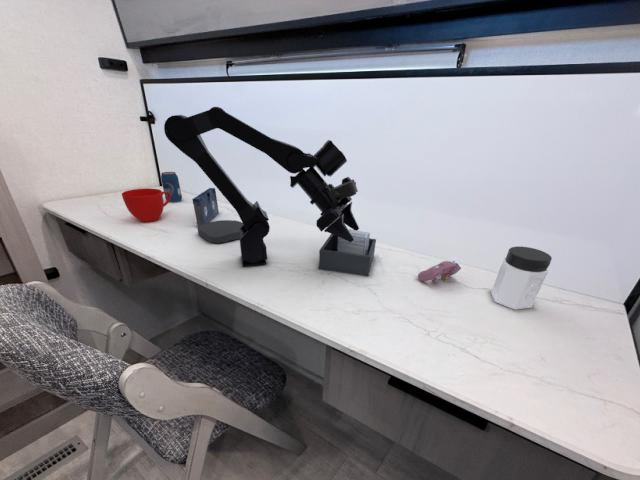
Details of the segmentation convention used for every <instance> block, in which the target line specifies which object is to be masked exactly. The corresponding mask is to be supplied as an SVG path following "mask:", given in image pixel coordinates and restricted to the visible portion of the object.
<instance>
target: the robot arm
mask: <svg viewBox="0 0 640 480" xmlns="http://www.w3.org/2000/svg"><path fill="white" fill-rule="evenodd" d="M216 129H220V130H221V131H223V132H225V133H227V134H229V135H230V136H232V137H234V138H236V139H238V140H240V141H242V142H243V143H245V144H247V145H249V146H250V147H252V148H255V149H256V150H258V151H260V152H262V153H263V154H265V155H266V156H268V157H269V158H270V159H271V160H273V161H274V162H275V163H277V165H279V166H281V167H282V169H284V170H285V171H287V172H288V173H290V174H294V176H293V175H290V176H289V179H290V184H289V185H290V188H292V189H293V188H295V187H296V186H297V185H298V186H299V187H300V188H301V190H302V191H303V192H304V193H305V194H306V195H307V197H308V198H309V199H310V201H309V203H310V204H311V205H312V206H313V205H315V206H316V207H317V208H318V209H319V211H320V216H319V217H318V219H316V227H317V229H318V230H319V231H320V232H324V233H329V234H330V235H331V234H333V235H336V236H338V237H340V238H343V239H345V240H347V241H349V242H352V241H353V240H354V239H353V237H352V235H351V233H350V232H349V230H348V229H349V228H350V229H351V230H357V231H359V229H360V227H359V225H358V223H357V220H356V218H355V216H354V214H353V212H352V211H353V210H352V206H353V201H352V200H353V198H352V197H354V196H355V195H356V194H357V193H358V192H359V191H358V187H357V182H356V181H355V179H351V177H350V176H347V177H344V178H342V180H341V184H339V185H335V186H334V185H333V184H332V183H327V182H326V181H325V179H324V177H330V178H331V177H332V176H333V175H335V173H336V172H337V171H338V170H340V169H341V168H342V167H343V166H344V165H345V164H346V163H347V162H348V159H347V158H346V156H345V154H344V152H343V151H342V150H340V148H338V147H337V146H336V145H335V144H334V142H333V141H332V140H331V139H327V140H326V142H324V144H323V145H322V147H320V149H318V150H317V151H316V152H315V153H314V154H311V153H310V152H308V153H306V152H304V151H303V150H302V149H300V148H299V147H297V146H295V145H293V144H290V143H287V142H284V141H281V140H278V139H275V138H272V137H270V136H269V135H267V134H265V133H263V132H261V131H259V130H258V129H256V128H254V127H253V126H251V125H249V124H247V123H246V122H244V121H242V120H240V119H239V118H237V117H235V116H234V115H232V114H230V113H228V112H226V111H225V110H224V109H223V108H222V107H220V106H213V107H210V109H207V110H205V111H202V112H199V113H196V114H193V115H190V116H187V115H183V114H176V115H171V116H169V117H167V119H166V120H165V121H164V125H163V131H164V135H165V137H166V138H167V140H168V141H169V142H170V143H171V144H172V145H174V146H175V147H176V148H177V149H178V150H179V151H180V152H181V153H183V154H184V155H185V156H187V157H188V158H190V159H191V160H192V161H193V162H195V163H196V165H197V166H198V167H199V168H200V169H201V171H202V172H203V173H204V174H205V175H206V177H207V178H208V179H209V181H211V183H212V184H213V185H214V186H215V187H216V188H217V190H218V191H219V192H220V193H221V194H222V196H223V197H224V198H225V199H226V200H227V202H228V203H229V204H230V205H231V206H232V207H233V209H234V210H235V211H236V213H237V215H238V217H239V219H240V222H242V223H243V224H244V225H243V226H242V227H241V228H240V229H239V230H240V238H239V239H238V240H239V248H240V249H239V250H240V261H241V265H242V267H243V268H244V267H245V268H246V267H252V266H253V267H255V266H263V265H264V266H265V265H267V260H268V253H267V252H268V251H267V245H266V243H265V242H264V238H265V237H267V235H269V232H270V223H269V216H268V214H267V212H266V211H265V210H264V209H263V208H262V207H261V205H260V203H259V201H255V202H254V203H252V202H251V201H250V200H248V198H247V197H246V196H245V195H244V194H243V193H242V191H241V189H239V187H238V186H237V185H236V184H235V183H234V181H233V180H232V178H231V177H230V176H229V174H227V172H226V171H225V169H223V167H222V166H221V165H220V163H219V162H218V161H217V160H216V158H215V157H214V156H213V154H212V153H211V152H210V151H209V149H208V146H207V145H206V143H205V141H204V139H203V137H202V135H203V134H205V133H208V132H210V131H213V130H216ZM315 168H316V169H317V170H316V169H315ZM305 169H306V170H305ZM318 171H319V172H318ZM321 175H322V176H323V177H322V176H321ZM348 227H349V228H348Z"/></svg>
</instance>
